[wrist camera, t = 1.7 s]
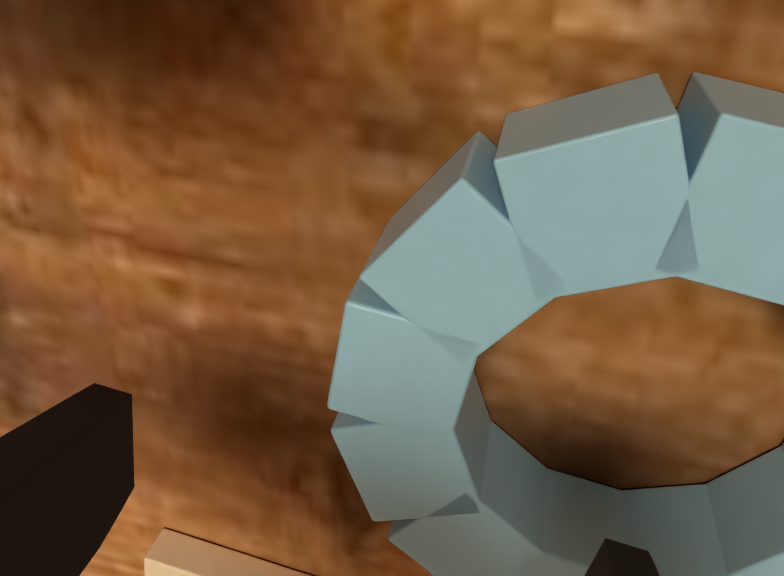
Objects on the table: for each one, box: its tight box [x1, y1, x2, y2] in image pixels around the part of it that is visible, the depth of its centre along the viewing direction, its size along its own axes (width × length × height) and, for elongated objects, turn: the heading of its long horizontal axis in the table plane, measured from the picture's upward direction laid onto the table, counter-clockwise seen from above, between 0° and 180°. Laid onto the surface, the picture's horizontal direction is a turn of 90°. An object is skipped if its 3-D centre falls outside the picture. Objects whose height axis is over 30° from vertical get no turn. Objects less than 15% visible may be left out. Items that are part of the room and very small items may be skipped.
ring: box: [327, 72, 784, 576], centre depth 14 cm, size 12×12×3 cm
